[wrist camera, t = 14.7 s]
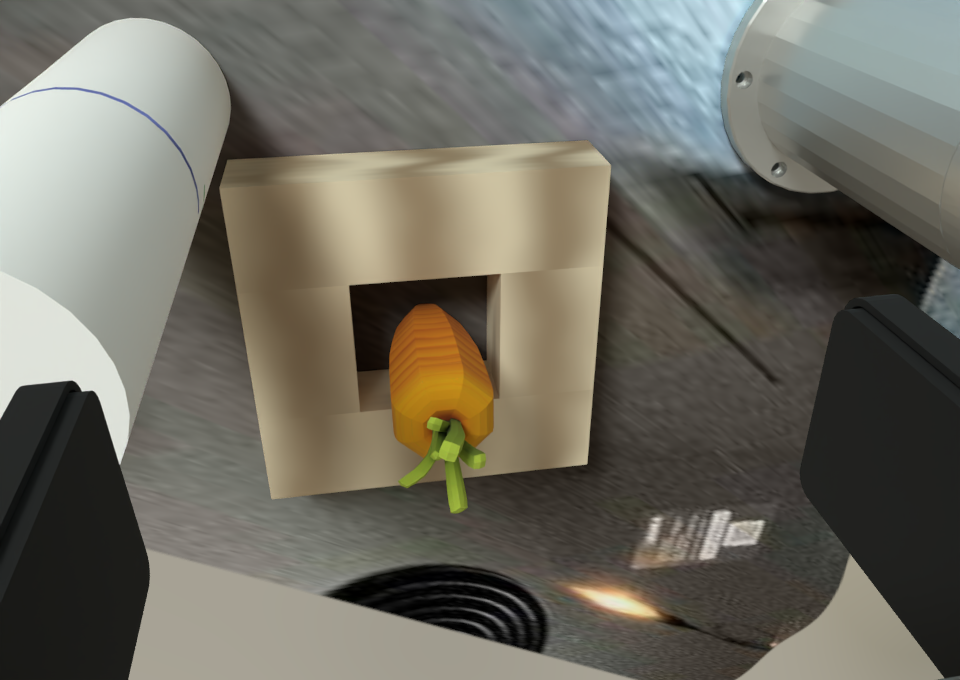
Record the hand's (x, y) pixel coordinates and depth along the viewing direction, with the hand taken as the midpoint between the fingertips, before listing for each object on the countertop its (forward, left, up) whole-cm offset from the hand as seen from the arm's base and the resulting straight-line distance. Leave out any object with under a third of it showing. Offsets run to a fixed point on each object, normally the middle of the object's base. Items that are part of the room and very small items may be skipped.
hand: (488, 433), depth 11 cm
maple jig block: (-2, +16, -32) cm, 36 cm away
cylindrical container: (+10, +4, -32) cm, 34 cm away
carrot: (-2, +16, -32) cm, 36 cm away
